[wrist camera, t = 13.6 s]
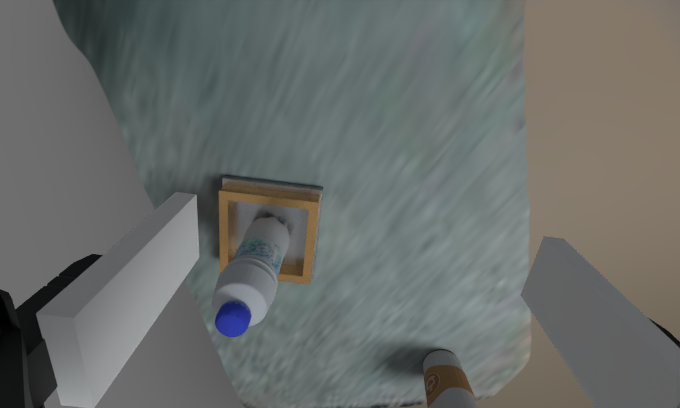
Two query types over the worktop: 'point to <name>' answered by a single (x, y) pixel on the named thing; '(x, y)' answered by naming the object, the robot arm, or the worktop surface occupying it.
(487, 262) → the worktop surface
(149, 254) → the robot arm
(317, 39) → the worktop surface
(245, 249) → the bottle
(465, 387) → the coffee cup
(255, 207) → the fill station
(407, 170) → the worktop surface
